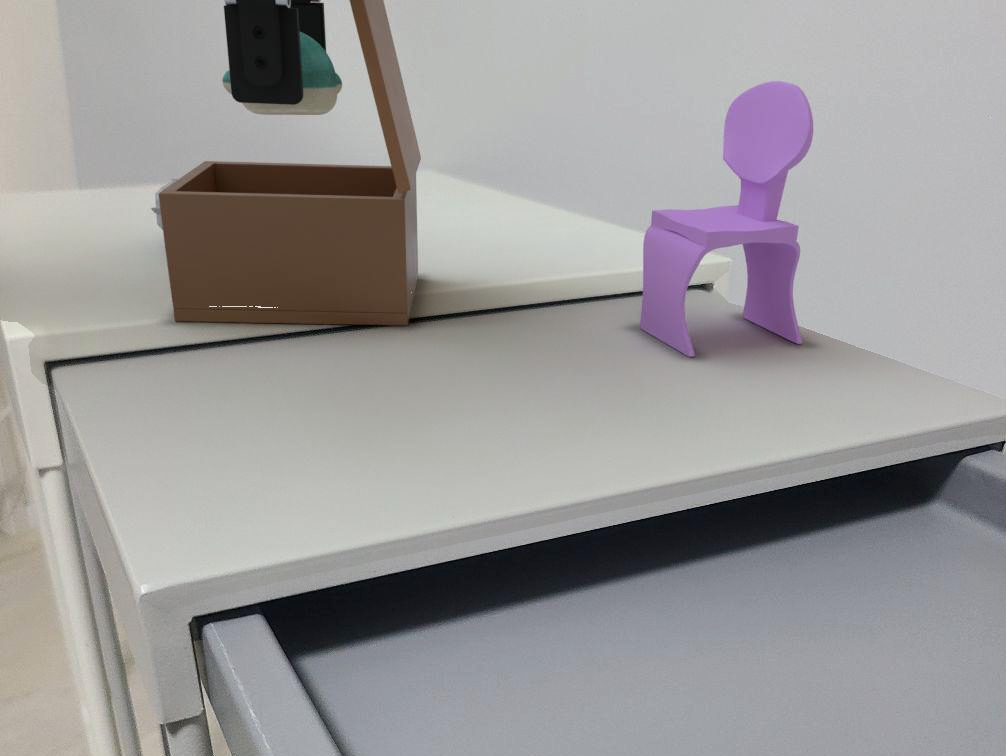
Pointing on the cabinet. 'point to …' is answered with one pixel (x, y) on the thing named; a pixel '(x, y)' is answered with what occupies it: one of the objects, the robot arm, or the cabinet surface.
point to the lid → (387, 89)
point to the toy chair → (736, 220)
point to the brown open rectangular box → (290, 244)
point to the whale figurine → (305, 84)
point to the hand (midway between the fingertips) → (283, 91)
